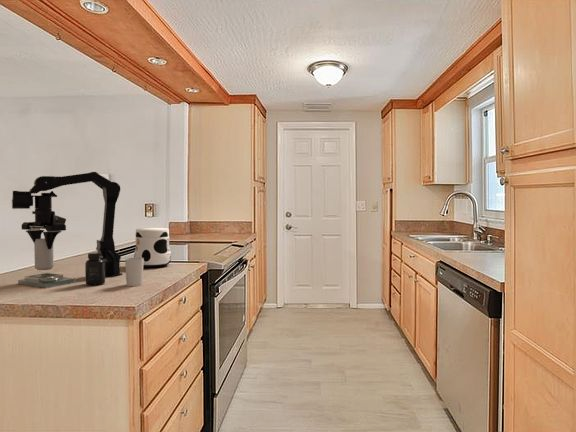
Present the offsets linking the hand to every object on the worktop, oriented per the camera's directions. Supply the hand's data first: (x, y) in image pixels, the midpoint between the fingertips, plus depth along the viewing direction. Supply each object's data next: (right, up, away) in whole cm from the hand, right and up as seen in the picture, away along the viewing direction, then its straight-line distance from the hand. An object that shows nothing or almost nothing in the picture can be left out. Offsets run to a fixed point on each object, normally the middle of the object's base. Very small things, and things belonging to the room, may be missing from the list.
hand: (43, 248), depth 167 cm
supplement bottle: (+22, -14, -3) cm, 26 cm away
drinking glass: (+37, -14, -4) cm, 39 cm away
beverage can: (0, -8, 0) cm, 8 cm away
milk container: (+30, -12, +40) cm, 51 cm away
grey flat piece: (+2, -13, -2) cm, 14 cm away
